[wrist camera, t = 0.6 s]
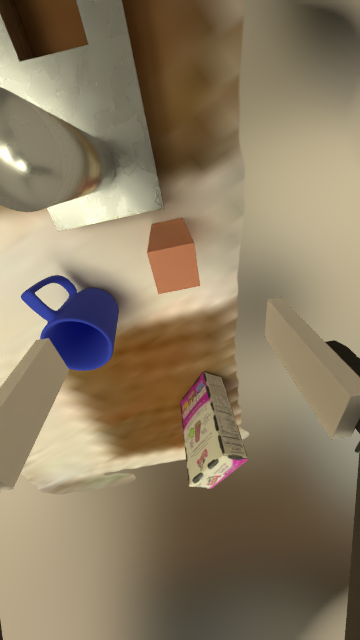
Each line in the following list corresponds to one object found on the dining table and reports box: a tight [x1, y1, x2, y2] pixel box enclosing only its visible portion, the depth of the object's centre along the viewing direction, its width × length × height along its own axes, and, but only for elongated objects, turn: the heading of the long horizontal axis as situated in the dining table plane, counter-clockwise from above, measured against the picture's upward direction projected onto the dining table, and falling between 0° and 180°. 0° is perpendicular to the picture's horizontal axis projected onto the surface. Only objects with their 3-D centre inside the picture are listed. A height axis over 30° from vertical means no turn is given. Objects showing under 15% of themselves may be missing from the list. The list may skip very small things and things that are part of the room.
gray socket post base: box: [0, 0, 164, 231], centre depth 14 cm, size 20×12×18 cm, turn 10°
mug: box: [21, 275, 119, 371], centre depth 29 cm, size 8×12×10 cm
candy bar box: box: [180, 372, 248, 489], centre depth 41 cm, size 11×5×16 cm, turn 154°
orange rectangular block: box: [147, 218, 200, 294], centre depth 24 cm, size 4×4×12 cm
